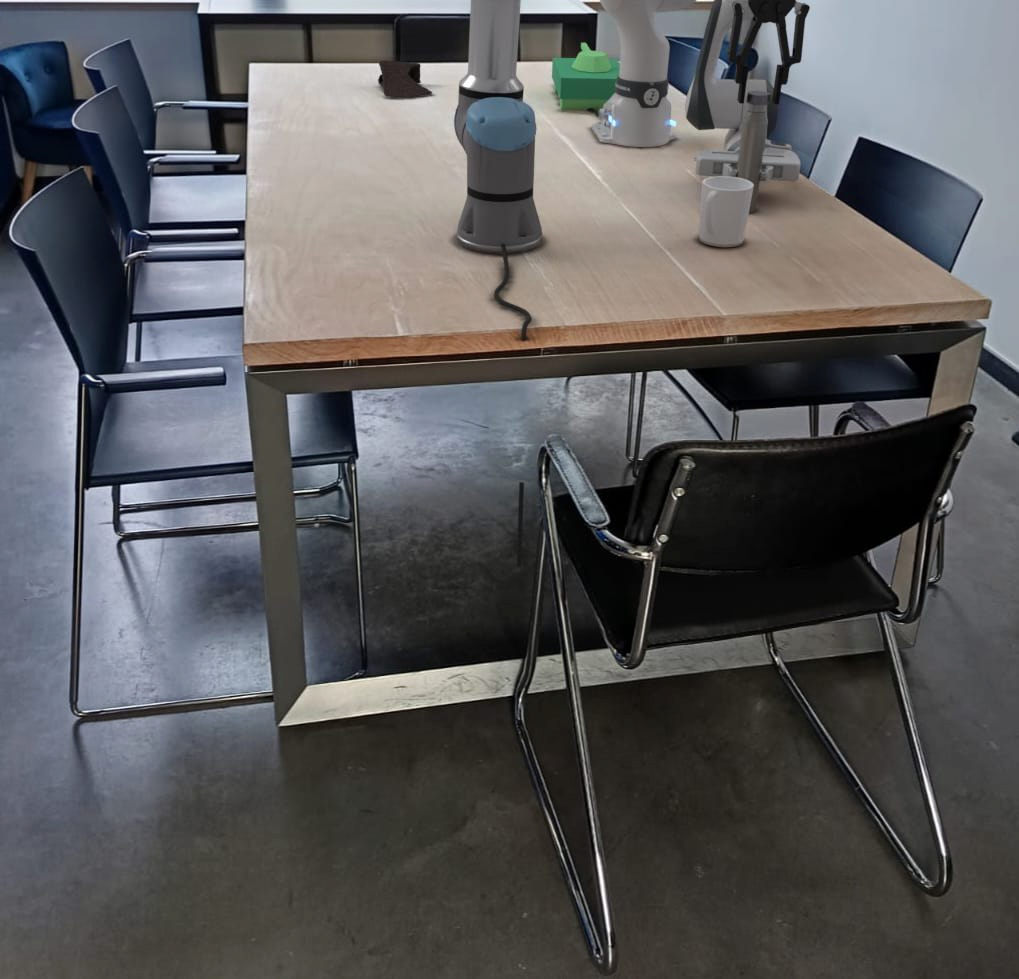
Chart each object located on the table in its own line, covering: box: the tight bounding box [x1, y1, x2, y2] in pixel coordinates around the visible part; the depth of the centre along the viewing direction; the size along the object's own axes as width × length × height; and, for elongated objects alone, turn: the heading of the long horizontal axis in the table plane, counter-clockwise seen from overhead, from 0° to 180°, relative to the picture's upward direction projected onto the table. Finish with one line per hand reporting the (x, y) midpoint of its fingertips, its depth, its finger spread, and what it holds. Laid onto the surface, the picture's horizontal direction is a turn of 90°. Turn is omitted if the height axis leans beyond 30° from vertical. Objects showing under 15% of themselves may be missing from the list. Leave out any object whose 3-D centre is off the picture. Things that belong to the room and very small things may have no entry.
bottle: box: [736, 104, 768, 214], centre depth 209 cm, size 5×5×21 cm
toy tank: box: [551, 42, 620, 111], centre depth 293 cm, size 18×12×35 cm
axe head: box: [377, 59, 433, 99], centre depth 299 cm, size 18×8×15 cm
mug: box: [698, 176, 754, 248], centre depth 195 cm, size 11×9×10 cm
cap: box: [746, 91, 771, 105], centre depth 204 cm, size 4×4×2 cm
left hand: (758, 102), depth 204 cm, fingers open, 6 cm apart
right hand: (748, 176), depth 210 cm, fingers closed on bottle, 4 cm apart
